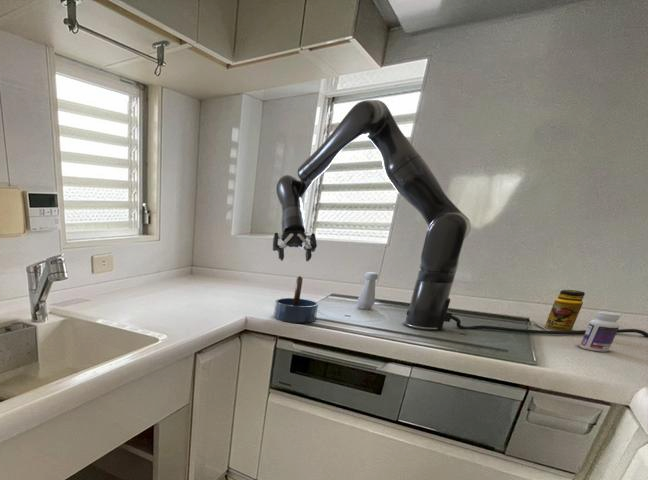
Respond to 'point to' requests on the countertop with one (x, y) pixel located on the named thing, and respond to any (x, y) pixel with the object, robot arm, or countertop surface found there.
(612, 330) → the pill bottle
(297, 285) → the brown stamp
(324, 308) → the countertop surface
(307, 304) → the bowl
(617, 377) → the countertop surface
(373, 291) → the salt shaker
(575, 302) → the condiment
